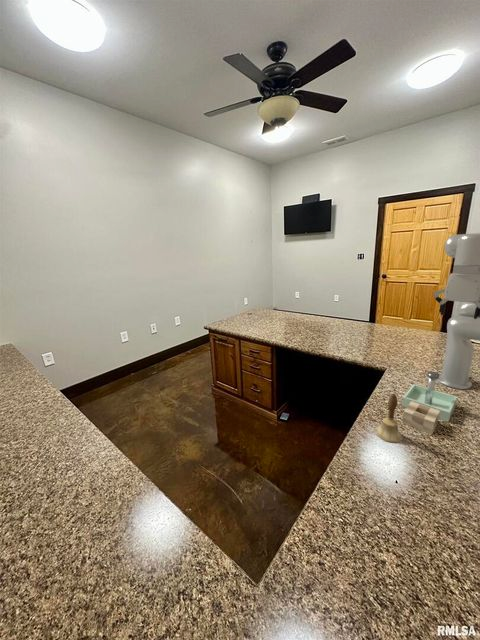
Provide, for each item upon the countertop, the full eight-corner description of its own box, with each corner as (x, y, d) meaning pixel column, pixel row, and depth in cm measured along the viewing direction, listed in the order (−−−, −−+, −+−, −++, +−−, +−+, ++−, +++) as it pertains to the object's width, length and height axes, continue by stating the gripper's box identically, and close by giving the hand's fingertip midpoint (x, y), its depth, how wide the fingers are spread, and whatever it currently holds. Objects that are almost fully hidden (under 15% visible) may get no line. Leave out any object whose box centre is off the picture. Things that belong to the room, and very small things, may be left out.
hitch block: (409, 412, 100) (411, 400, 99) (438, 422, 94) (440, 410, 92) (402, 423, 95) (403, 411, 93) (431, 434, 88) (433, 422, 87)
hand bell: (404, 433, 90) (410, 392, 85) (399, 446, 84) (404, 404, 80) (379, 423, 95) (382, 385, 91) (371, 435, 89) (375, 395, 85)
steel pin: (423, 399, 106) (428, 370, 102) (434, 403, 103) (440, 373, 100) (421, 403, 104) (426, 373, 100) (432, 407, 101) (438, 377, 97)
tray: (412, 392, 113) (413, 384, 112) (455, 405, 103) (457, 396, 101) (401, 405, 104) (402, 397, 103) (448, 422, 94) (449, 412, 93)
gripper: (501, 269, 88) (491, 317, 93) (439, 268, 101) (433, 311, 105) (499, 271, 83) (488, 322, 88) (434, 270, 96) (428, 315, 100)
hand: (458, 316), depth 96 cm, fingers open, 9 cm apart
